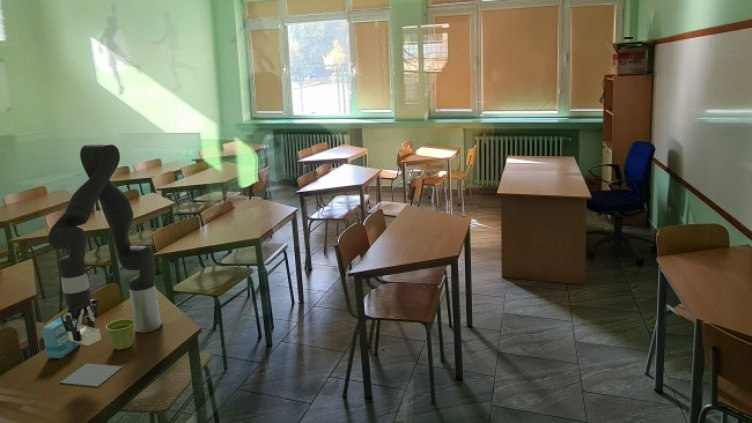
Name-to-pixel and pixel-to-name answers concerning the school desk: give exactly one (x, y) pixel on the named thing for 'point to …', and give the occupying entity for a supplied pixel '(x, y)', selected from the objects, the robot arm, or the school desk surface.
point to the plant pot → (121, 333)
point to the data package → (57, 339)
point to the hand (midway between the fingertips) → (85, 336)
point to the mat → (91, 375)
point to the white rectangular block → (87, 335)
